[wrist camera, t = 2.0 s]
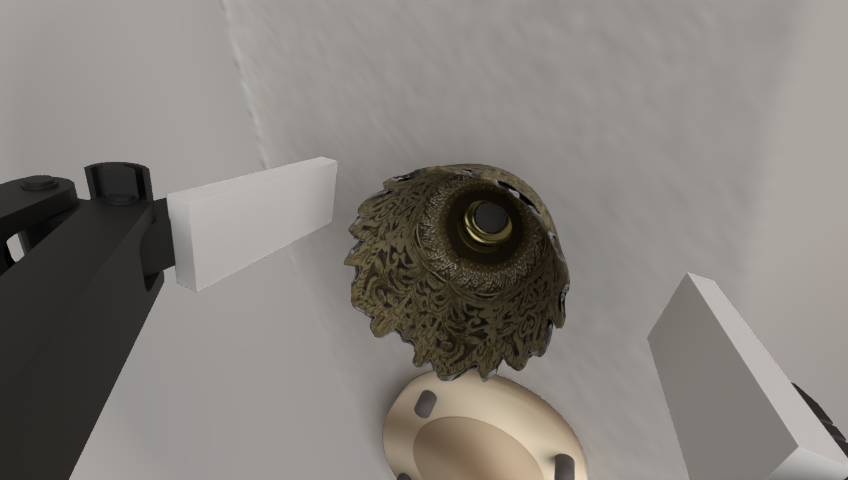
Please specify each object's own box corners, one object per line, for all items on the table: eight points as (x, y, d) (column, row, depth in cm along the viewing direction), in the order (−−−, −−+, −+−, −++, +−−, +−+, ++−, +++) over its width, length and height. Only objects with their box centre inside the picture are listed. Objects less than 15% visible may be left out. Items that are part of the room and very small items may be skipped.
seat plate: (544, 554, 25) (541, 601, 23) (379, 464, 28) (362, 497, 26) (625, 430, 20) (633, 474, 17) (410, 337, 23) (391, 363, 21)
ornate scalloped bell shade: (398, 222, 20) (309, 284, 13) (477, 109, 17) (411, 114, 10) (502, 308, 20) (465, 419, 13) (605, 210, 16) (631, 289, 9)
